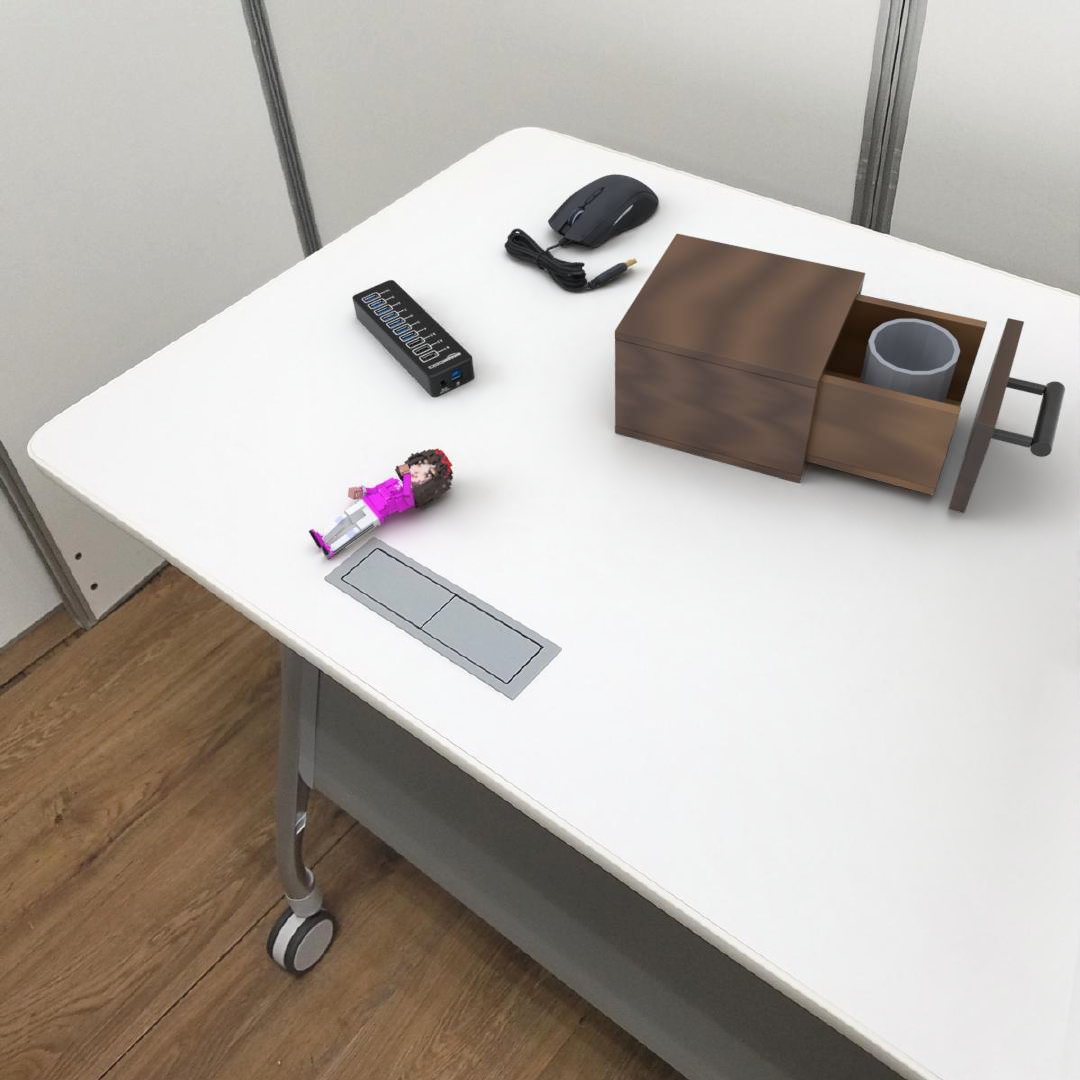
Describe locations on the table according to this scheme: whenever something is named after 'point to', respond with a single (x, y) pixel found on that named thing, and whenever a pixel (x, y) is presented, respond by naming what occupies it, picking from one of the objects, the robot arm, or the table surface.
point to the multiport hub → (414, 338)
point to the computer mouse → (589, 227)
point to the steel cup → (911, 358)
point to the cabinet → (730, 353)
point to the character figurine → (389, 498)
